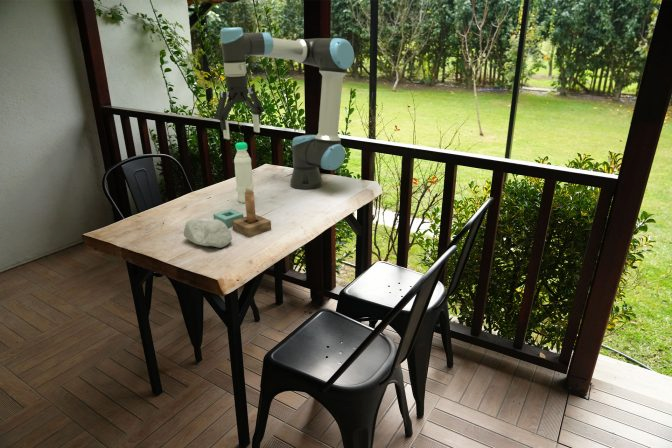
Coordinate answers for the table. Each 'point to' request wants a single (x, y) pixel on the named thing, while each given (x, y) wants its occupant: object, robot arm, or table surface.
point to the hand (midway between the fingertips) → (242, 135)
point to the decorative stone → (207, 232)
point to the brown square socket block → (251, 226)
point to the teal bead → (228, 216)
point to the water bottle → (242, 171)
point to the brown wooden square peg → (250, 205)
